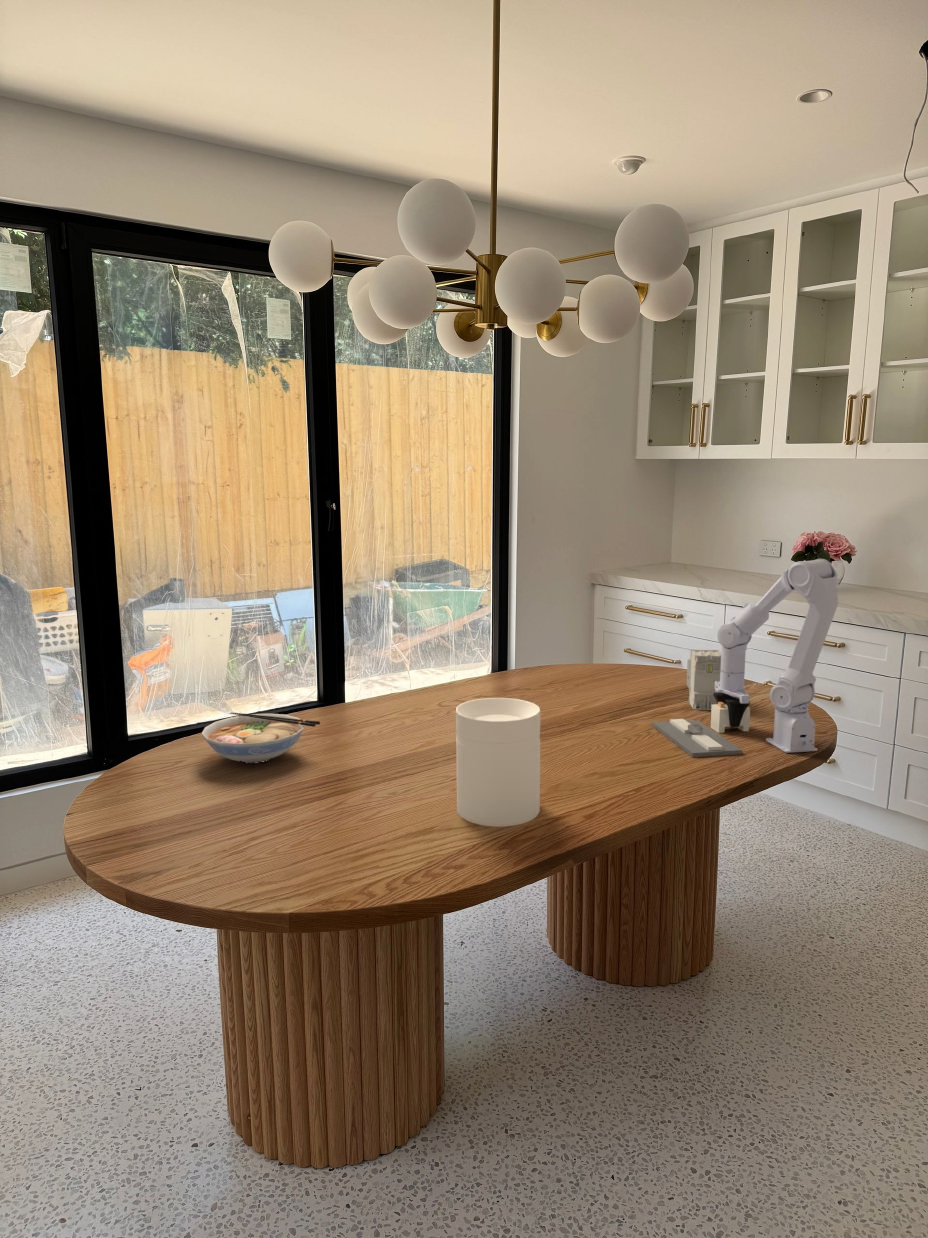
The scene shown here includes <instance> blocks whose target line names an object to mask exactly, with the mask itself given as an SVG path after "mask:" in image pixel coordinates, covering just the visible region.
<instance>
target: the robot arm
mask: <svg viewBox="0 0 928 1238" xmlns="http://www.w3.org/2000/svg"><path fill="white" fill-rule="evenodd" d="M838 576H839V575H838V572H837V571H836V569H835V568H834V566H833V565H832V563H831V562H830V561H828V560H827V559H825V558H816V559H814V560H806V561H805V560H804V561H796V562H794V563H793V564H791V565H790V566H789V568H787V569H786V570H784V571H783V572H782V573H781V576H780V577H779V578H778V579H777V580H776V581H775V583H774V584H772V586H771V587H770V588H769V589H768V591H766V592H765V594H764V595H763V596H762V597H761V598H760V599H759V600H758V602H756V601H751V602H748V603H745V604H743V606H742V608H743V609H742V610H741V611H740V612H739V613H738V614H737V615H736V616H733V617H731V619H730V623H725V624H722V625H721V626H720V628H719V629H718V631H717V635H716V636H717V641H718V642H719V644H720V646H721V650H720V652H721V671H720V681H715V691H717V692H718V693H713V696H714V698H715V700H716V702H717V704H718V702H723V703H724V704H727V707H728V711H729V722H730V726H729V727H730V728H737V727H739V726H740V723H741V720H742V717H743V714H744V712H745V710H746V708H747V707H750V706H749V705H750V703H751V701H750V696H751V695H749V694H748V693H747V691H746V690H745V675H746V674H745V673H746V671H745V670H746V651H747V649H748V648H747V647H748V644H749V643H750V642H751V640H752V636H753V634H755V633H756V632H757V630H759V628H761V627H762V626H763V625H764V624H765V623H766V622H767V621H768V620H769V619H770V612H771V610H773V608H775V607H776V606H777V605H778V604H779V603H780V602H782V601H783V600H784V599H785V598H786V597H788V596H789V595H790V594H791V593H792V592H794V591H796V592H798V593H799V594H800V595H801V596H802V597H803V598H804V599H805V600H806V602H807V604H808V606H809V608H808V611H807V613H806V616H805V619H804V621H803V625H802V628H801V631H800V633H799V636H798V639H797V642H796V644H795V648H794V650H793V653H792V655H791V658H790V661H789V663H788V664H789V665H788V667H787V668H786V669H785V671H784V672H783V673H781V675H780V676H779V677H778V681H777V682H776V683H775V685H773V686H772V687H771V689H770V693H769V698H770V702H771V703H772V705H773V706H774V721H773V722H774V724H773V737H767V738H765V741H766V742H768V743H769V744H770V745H773V746H774V747H776V748H777V749H779V750H781V751H782V752H784V753H787V754H789V753H804V752H817V751H818V748H817V747H815V739H816V722H815V720H814V718H812V717H811V715H810V714H809V706H810V705H809V704H810V703H811V702H812V701H813V700H814V697H815V695H816V690H815V684H816V681H817V679H816V676H815V675H814V673H813V672H814V670H815V667H816V665H817V662H818V659H819V657H820V654H821V651H822V649H823V646H824V643H825V641H826V638H827V636H828V632H829V629H830V627H831V624H832V622H833V619H834V616H835V614H836V611H837V608H838V605H839V599H838V591H837V590H838V589H837V583H836V582H837V578H838Z"/></svg>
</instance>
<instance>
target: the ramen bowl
mask: <svg viewBox="0 0 928 1238" xmlns="http://www.w3.org/2000/svg"><path fill="white" fill-rule="evenodd" d="M229 714H231V715H236V716H232V717H228V718H224V719H221V720H217V721H214V722H213V723H211V724H208V725H207V726H205V727H204V728H203V730H202V732H201V735H202V736H203V738H204V740H205V741H206V742H207V744H208V745H209V747H211V748H212V749H213V751H214V752H215V753H217V754H218V755H219V756H221V757H223V758H225V759H229V760H231V761H235V762H240V761H242V762H241V763H243V762H247V763H246V764H248V763H255V762H262V761H266V760H268V761H270V760H272V759H274V758H276V757H279V756H282V755H283V754H284V753H286V752H287V751H289V749H291V748H293V747H294V746H295V745H296V743H297V742H298V740H299V739H300V737H301V735H302V733H303V730H304V729H305V726H307V727H312V728H313V727H316V726H317V725H318V726H319V725H321V721H319V720H310V719H301V718H300V717H296V716H293V715H290V714H283V713H281V714H279V713H255V714H254V713H252V714H251V713H242V712H241V713H240V712H233V711H232V712H229ZM271 758H272V759H271ZM269 759H270V760H269ZM266 762H267V761H266ZM255 764H256V763H255Z"/></svg>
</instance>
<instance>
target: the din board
mask: <svg viewBox="0 0 928 1238" xmlns="http://www.w3.org/2000/svg"><path fill="white" fill-rule="evenodd" d="M691 724H698V725H699V726H701V727H702V728H703V732H702V733H692V732H691V731H689V730H688V725H691ZM651 726H652V727H653V728H654V729H655V730H657V731H658V732H659V733H661V734H662V735H663V736H664V737H666V738H667V739H668V740H669V741H671V742H672V743H673V744H675V745H676V746H677V747H679V749H681V750H682V751H684V752H685V753H686V754H688V755H689V756H690V757H691V758H704V757H718V756H719V757H720V756H721V757H722V756H734V755H735V756H736V755H737V756H738V755H743V750H742V749H741V748H740V747H738V746H737V745H735V744H733V742H731V741H729V740H728V739H727V738H725V737H724V736H722V735H721V734H720V733H718V732H717V731H715V730H714V729H712V728H711V727H709V726H707V725H705V724H704V723H702V722H701V721H699V719H688V720H687V719H685V718H672V719H669V721H666V720H665V721H652V725H651Z"/></svg>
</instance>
